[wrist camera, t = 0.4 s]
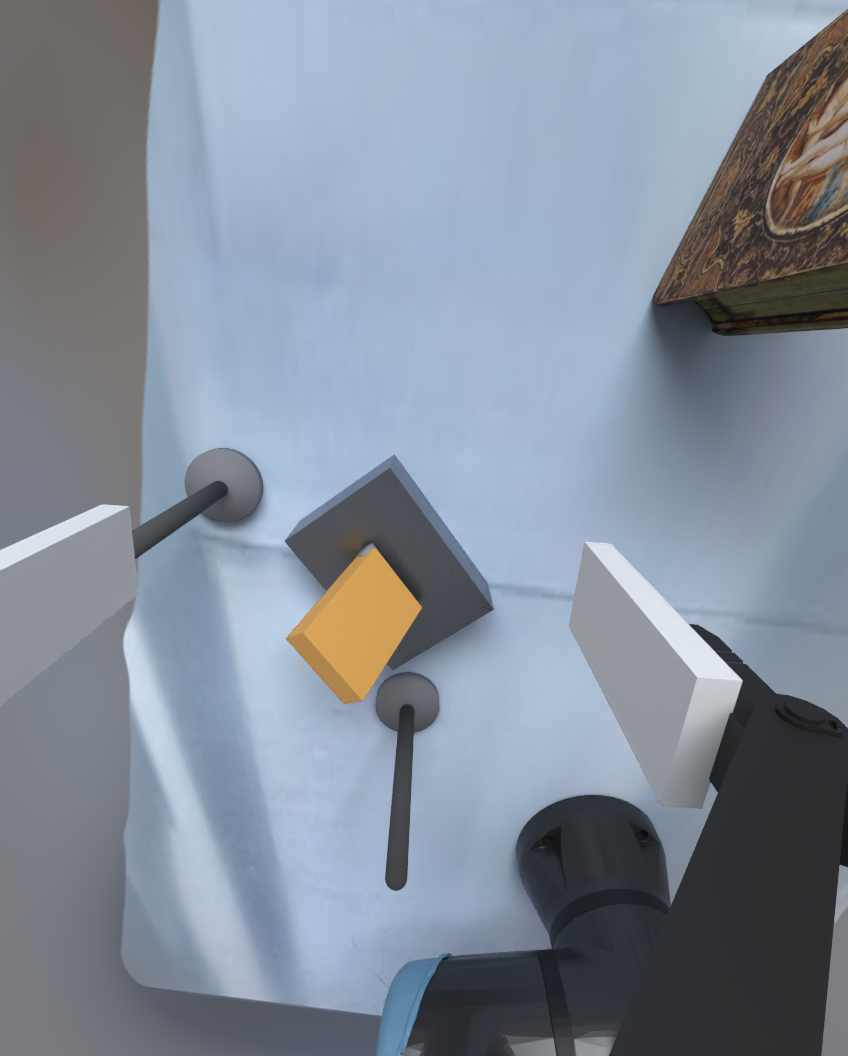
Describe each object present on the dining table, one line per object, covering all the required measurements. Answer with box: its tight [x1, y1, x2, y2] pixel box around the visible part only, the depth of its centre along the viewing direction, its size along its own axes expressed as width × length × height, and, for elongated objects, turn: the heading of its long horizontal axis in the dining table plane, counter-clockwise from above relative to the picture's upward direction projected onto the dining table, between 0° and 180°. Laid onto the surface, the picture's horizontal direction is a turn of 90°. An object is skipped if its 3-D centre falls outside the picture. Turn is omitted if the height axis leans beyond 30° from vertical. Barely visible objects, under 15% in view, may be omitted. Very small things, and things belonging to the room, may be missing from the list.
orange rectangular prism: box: [286, 543, 422, 704], centre depth 36 cm, size 2×6×10 cm, turn 36°
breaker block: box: [285, 455, 493, 670], centre depth 43 cm, size 11×14×5 cm
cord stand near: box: [132, 448, 263, 559], centre depth 34 cm, size 6×6×19 cm
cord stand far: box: [376, 672, 439, 891], centre depth 41 cm, size 6×6×19 cm
